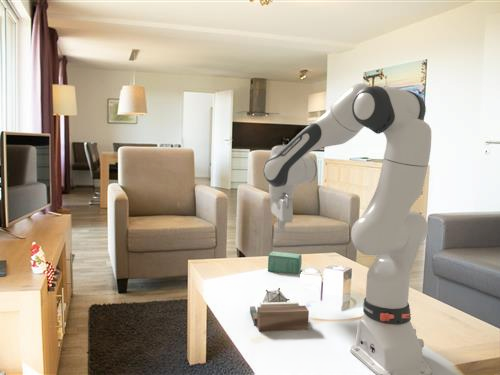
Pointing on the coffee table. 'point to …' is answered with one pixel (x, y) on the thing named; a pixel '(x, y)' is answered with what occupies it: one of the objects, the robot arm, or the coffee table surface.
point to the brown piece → (280, 318)
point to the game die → (274, 296)
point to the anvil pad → (279, 304)
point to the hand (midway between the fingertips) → (281, 230)
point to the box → (284, 262)
